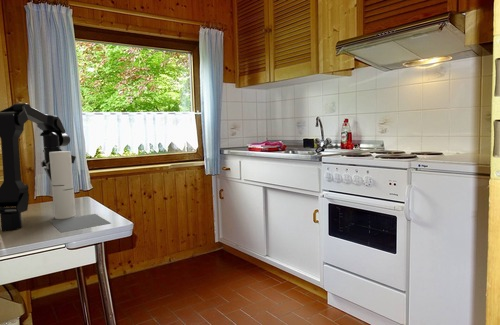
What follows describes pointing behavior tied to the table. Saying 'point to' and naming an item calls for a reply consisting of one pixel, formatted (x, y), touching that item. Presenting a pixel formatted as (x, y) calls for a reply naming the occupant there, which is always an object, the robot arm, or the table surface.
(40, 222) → the table surface
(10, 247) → the table surface
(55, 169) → the cylindrical container
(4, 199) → the robot arm
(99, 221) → the mat
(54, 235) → the table surface
